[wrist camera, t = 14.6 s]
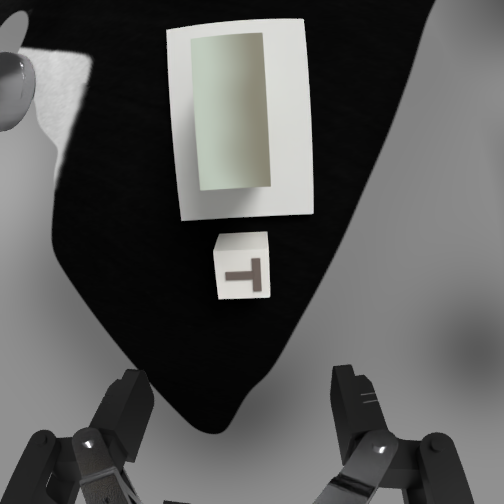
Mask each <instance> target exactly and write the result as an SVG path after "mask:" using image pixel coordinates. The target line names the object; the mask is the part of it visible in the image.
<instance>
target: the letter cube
mask: <svg viewBox="0 0 504 504" xmlns="http://www.w3.org/2000/svg"><path fill="white" fill-rule="evenodd" d="M213 254H214V264H215V273H216V282H217V291H218V299H241V298H267V297H270V276H269V248H268V237H267V232H249V233H228V234H219V236H218V239H217V242H216V245H215V247H214V250H213Z"/></svg>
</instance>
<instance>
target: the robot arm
mask: <svg viewBox="0 0 504 504" xmlns="http://www.w3.org/2000/svg"><path fill="white" fill-rule="evenodd" d="M34 89H35V73H34V69H33V65H32V64H31V62H30V60H29V59H28V58H27V57H26V56H24V55H21V54H16V53H11V52H5V51H0V132H1V131H7V130H9V129H12V128H13V127H14V126H16V125H17V124H18V123H19V122H20V121H21V120H22V119H23V117H24V116H25V114H26V112H27V110H28V108H29V106H30V103H31V100H32V98H33V93H34ZM330 400H331V407H332V412H333V417H334V422H335V427H336V432H337V437H338V443H339V448H340V454H341V459H342V464H343V466H344V467H343V469H342V470H341V472H340V473H339V474H338V475H337V476H336V477H334V478H333V479H332V480H331V481H330V482H329V483H328V484H327V486H326V487H325V488H324V490H323V491H322V493H321V494H320V495H319V496H318V497H317V499H316V500H315V501H314V503H313V504H369V502H370V501H371V499H372V497H373V496H374V494H375V493H376V491H377V489H378V487H382V488H398V489H401V490H402V494H403V500H404V504H474V501H473V498H472V494H471V491H470V488H469V485H468V482H467V479H466V476H465V473H464V470H463V467H462V464H461V461H460V459H459V456H458V453H457V450H456V448H455V445H454V442H453V440H452V439H451V438H450V437H449V436H447V435H446V434H443V433H438V432H435V433H431V434H428V435H427V436H425V437H424V438H423V439H422V441H414V440H403V439H399V438H397V437H396V436H395V435H394V434H393V433H391V432H390V431H389V430H388V428H387V425H386V422H385V419H384V416H383V413H382V410H381V407H380V405H379V402H378V399H377V396H376V394H375V391H374V388H373V385H372V383H371V381H370V380H369V379H367V377H366V376H365V375H359V376H355V374H354V371H353V368H352V366H351V365H340V366H333V370H332V380H331V390H330ZM101 402H102V403H100V405H99V407H98V409H97V411H96V413H95V415H94V417H93V419H92V421H91V423H90V425H89V427H88V428H83V429H80V430H79V431H77V432H76V433H75V434H74V436H73V437H68V438H67V437H66V438H56V436H55V435H54V434H53V433H52V432H51V431H49V430H40V431H38V432H36V433H34V434H33V435H32V437H31V438H30V440H29V442H28V444H27V446H26V448H25V450H24V452H23V454H22V456H21V458H20V460H19V462H18V464H17V466H16V468H15V471H14V473H13V475H12V477H11V479H10V481H9V484H8V486H7V488H6V490H5V493H4V495H3V497H2V499H1V502H0V504H75V500H76V498H77V495H78V492H79V488H80V487H81V489H82V492H83V495H84V498H85V501H86V504H143V503H142V502H141V500H140V499H139V497H138V495H137V493H136V491H135V489H134V487H133V485H132V483H131V481H130V479H129V477H128V475H127V473H126V471H125V469H124V467H123V466H124V464H125V461H127V462H133V463H134V462H135V459H136V456H137V453H138V450H139V447H140V444H141V441H142V439H143V435H144V433H145V430H146V427H147V424H148V421H149V418H150V415H151V412H152V409H153V406H154V394H153V391H152V389H151V386H150V384H149V381H148V378H147V375H146V373H145V371H144V370H135V369H127V370H126V371H125V373H124V375H123V377H122V379H121V380H119V379H117V380H116V381H115V382H114V383H112V385H110V386H109V388H108V390H107V392H106V394H105V397H103V399H102V401H101ZM51 472H52V474H51ZM50 475H51V477H50ZM49 477H50V479H49ZM48 479H49V482H48ZM47 482H48V484H47ZM46 484H47V487H46ZM163 504H189V503H179V502H172V501H165V500H164V502H163Z"/></svg>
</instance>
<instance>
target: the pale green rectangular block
mask: <svg viewBox="0 0 504 504" xmlns="http://www.w3.org/2000/svg"><path fill="white" fill-rule="evenodd" d="M191 62H192V82H193V100H194V116H195V130H196V144H197V156H198V168H199V180H200V191H202V190H216V189H232V188H250V187H271V175H270V153H269V133H268V114H267V96H266V79H265V62H264V47H263V33H243V34H230V35H219V36H209V37H201V38H193V39H191Z"/></svg>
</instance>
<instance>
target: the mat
mask: <svg viewBox="0 0 504 504" xmlns="http://www.w3.org/2000/svg"><path fill="white" fill-rule="evenodd" d="M243 33H263V47H264V62H265V79H266V96H267V114H268V133H269V153H270V175H271V187H250V188H232V189H216V190H202V191H200V180H199V168H198V156H197V144H196V130H195V116H194V100H193V82H192V62H191V39H193V38H201V37H209V36H219V35H230V34H243ZM167 55H168V77H169V94H170V109H171V123H172V135H173V147H174V157H175V168H176V177H177V187H178V196H179V204H180V213H181V221H188V220H203V219H219V218H236V217H255V216H276V215H299V214H313V159H312V131H311V110H310V92H309V77H308V63H307V51H306V39H305V28H304V19H260V20H242V21H230V22H219V23H210V24H202V25H195V26H188V27H182V28H176V29H170V30H167Z"/></svg>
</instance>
